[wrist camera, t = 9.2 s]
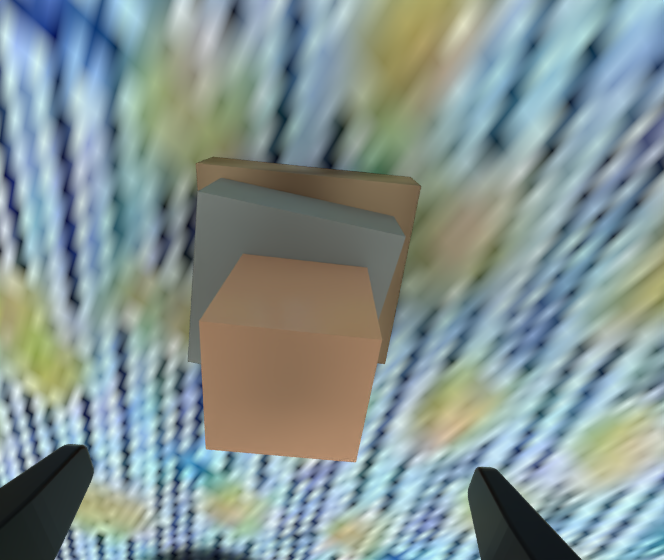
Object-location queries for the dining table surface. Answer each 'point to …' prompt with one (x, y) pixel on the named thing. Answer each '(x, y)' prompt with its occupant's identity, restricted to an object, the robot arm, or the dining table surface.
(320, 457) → the terracotta cube
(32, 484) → the robot arm
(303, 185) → the walnut slab
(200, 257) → the grey square block
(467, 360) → the dining table surface
